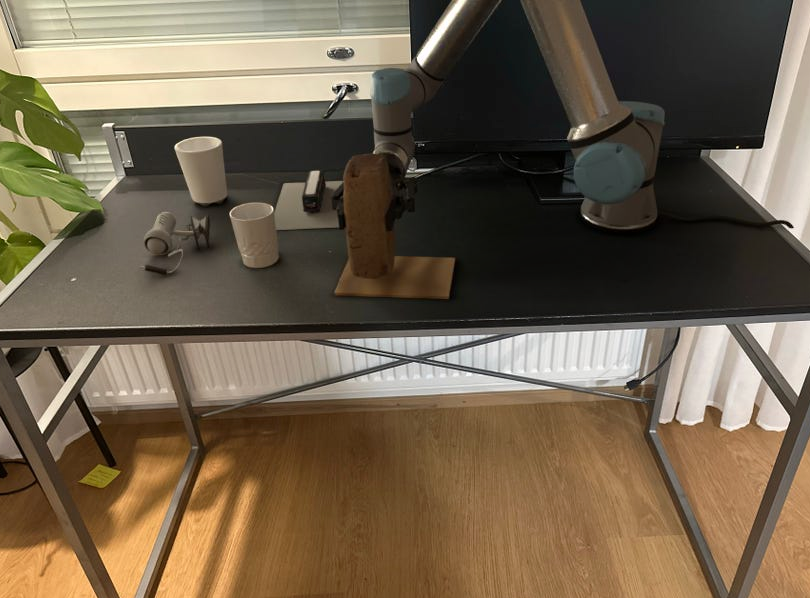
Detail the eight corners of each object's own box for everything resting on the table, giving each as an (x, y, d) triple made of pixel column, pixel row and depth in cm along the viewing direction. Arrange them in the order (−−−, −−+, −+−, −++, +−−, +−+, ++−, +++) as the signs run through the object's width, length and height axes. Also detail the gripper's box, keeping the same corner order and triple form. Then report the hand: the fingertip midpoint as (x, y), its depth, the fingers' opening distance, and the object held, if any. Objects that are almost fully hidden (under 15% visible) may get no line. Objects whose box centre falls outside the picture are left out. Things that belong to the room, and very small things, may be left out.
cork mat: (455, 260, 131) (455, 257, 130) (448, 299, 120) (448, 296, 119) (350, 257, 133) (350, 254, 132) (334, 295, 122) (334, 292, 121)
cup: (213, 188, 162) (201, 133, 154) (242, 197, 157) (231, 141, 150) (178, 202, 156) (164, 146, 148) (207, 213, 151) (194, 155, 143)
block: (389, 283, 121) (382, 172, 109) (347, 281, 121) (336, 170, 110) (399, 253, 129) (394, 147, 117) (360, 252, 130) (350, 146, 118)
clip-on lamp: (198, 288, 130) (217, 227, 142) (192, 262, 126) (212, 202, 137) (134, 285, 130) (158, 224, 142) (125, 259, 125) (151, 198, 137)
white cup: (289, 253, 135) (281, 204, 129) (268, 272, 129) (259, 222, 123) (253, 248, 137) (244, 200, 131) (231, 266, 131) (221, 217, 125)
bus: (345, 180, 164) (343, 163, 161) (339, 227, 143) (337, 208, 141) (283, 183, 163) (281, 166, 161) (268, 230, 143) (265, 211, 141)
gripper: (439, 190, 135) (425, 245, 116) (336, 188, 136) (307, 241, 118) (438, 152, 130) (424, 203, 112) (332, 150, 132) (301, 200, 114)
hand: (364, 222), depth 115 cm, fingers closed on block, 7 cm apart
